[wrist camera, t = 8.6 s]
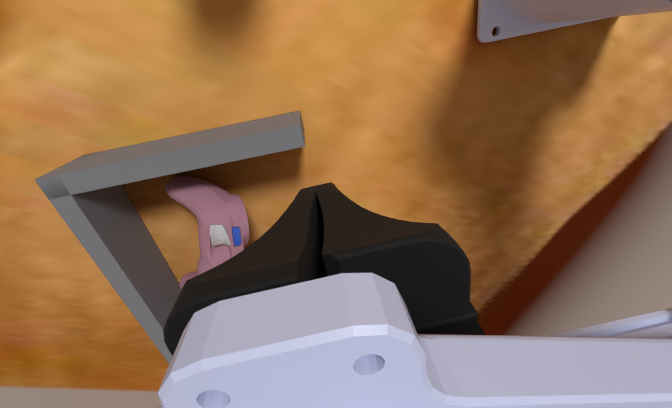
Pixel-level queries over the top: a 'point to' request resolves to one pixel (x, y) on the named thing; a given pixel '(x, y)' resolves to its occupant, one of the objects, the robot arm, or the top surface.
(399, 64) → the top surface
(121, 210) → the box
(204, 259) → the video game controller
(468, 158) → the top surface
